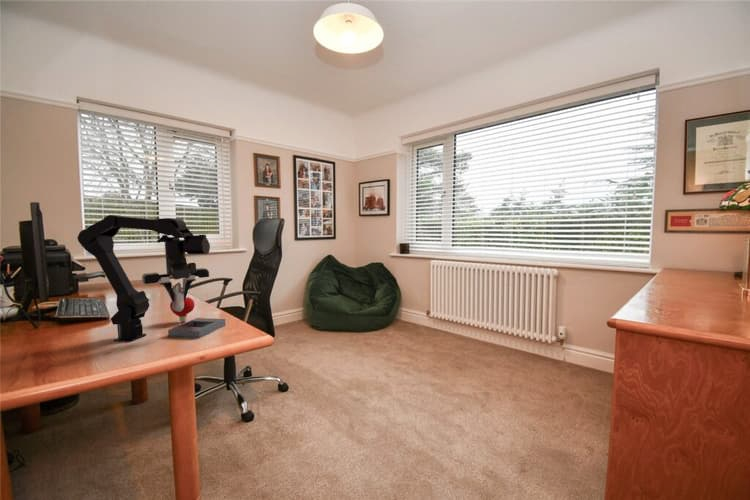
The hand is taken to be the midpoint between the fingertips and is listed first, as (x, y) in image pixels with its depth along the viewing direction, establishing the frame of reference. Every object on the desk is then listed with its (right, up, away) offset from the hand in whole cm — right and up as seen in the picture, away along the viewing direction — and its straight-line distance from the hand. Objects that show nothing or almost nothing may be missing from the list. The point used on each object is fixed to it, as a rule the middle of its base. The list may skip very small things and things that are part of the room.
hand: (178, 300), depth 107 cm
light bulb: (-9, -12, +17) cm, 23 cm away
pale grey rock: (0, -4, 0) cm, 4 cm away
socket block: (+3, -12, +7) cm, 14 cm away
